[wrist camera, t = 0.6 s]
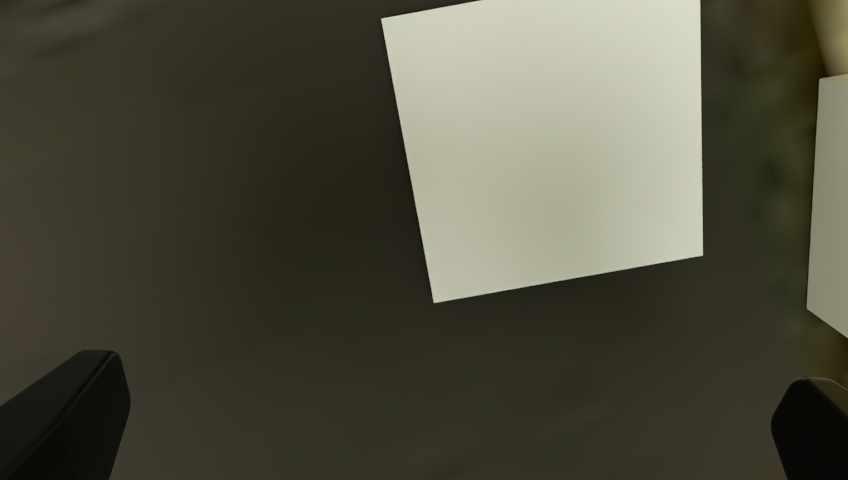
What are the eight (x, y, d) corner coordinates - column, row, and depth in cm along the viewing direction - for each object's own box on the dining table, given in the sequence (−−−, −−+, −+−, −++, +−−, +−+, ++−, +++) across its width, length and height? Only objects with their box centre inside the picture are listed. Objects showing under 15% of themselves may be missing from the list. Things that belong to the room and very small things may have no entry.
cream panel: (692, 247, 23) (702, 255, 22) (432, 293, 23) (433, 302, 23) (687, -39, 20) (699, -40, 19) (381, 18, 20) (381, 18, 19)
